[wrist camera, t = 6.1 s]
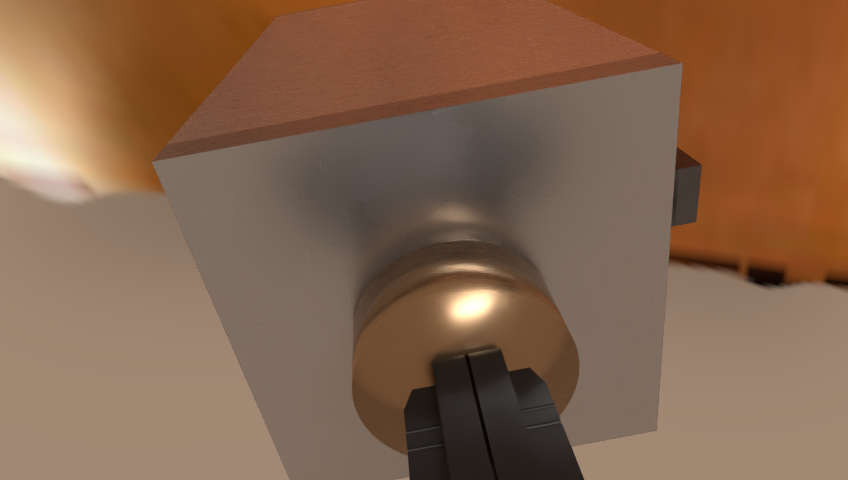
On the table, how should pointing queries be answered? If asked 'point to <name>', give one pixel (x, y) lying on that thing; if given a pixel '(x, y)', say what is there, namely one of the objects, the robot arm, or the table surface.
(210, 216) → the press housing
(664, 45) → the table surface
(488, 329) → the brass disc knob
